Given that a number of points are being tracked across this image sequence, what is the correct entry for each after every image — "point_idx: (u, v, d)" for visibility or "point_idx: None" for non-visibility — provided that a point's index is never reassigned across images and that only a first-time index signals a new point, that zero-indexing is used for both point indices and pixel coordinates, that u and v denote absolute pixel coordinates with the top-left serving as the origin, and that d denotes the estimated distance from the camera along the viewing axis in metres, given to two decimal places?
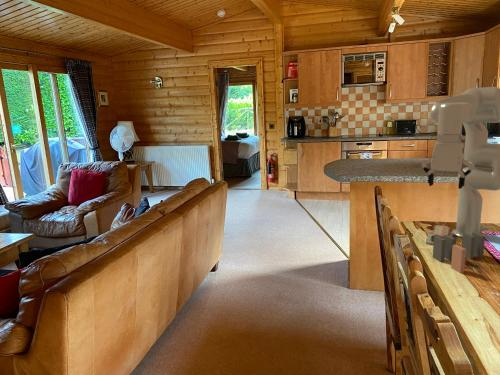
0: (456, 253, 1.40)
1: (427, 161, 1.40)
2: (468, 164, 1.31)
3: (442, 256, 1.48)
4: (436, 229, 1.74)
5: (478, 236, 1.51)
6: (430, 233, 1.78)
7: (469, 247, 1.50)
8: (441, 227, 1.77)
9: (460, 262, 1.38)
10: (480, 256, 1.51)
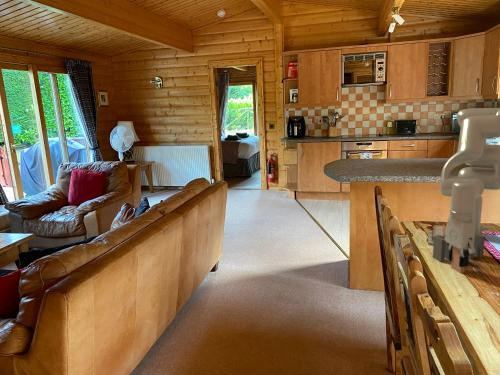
0: (456, 253, 1.40)
1: None
2: None
3: (442, 256, 1.48)
4: (436, 229, 1.74)
5: (478, 236, 1.51)
6: (430, 233, 1.78)
7: None
8: (440, 227, 1.76)
9: None
10: (480, 256, 1.51)
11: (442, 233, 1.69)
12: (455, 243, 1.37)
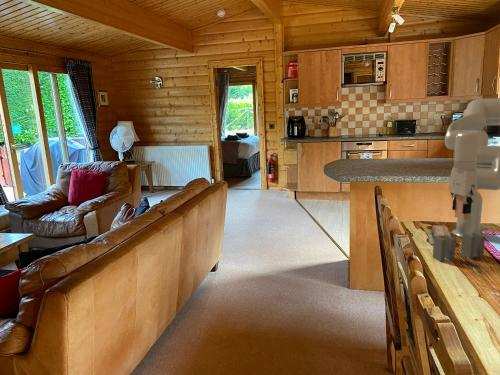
0: (459, 201, 1.48)
1: None
2: None
3: (442, 256, 1.48)
4: (437, 229, 1.73)
5: (478, 236, 1.51)
6: (429, 234, 1.78)
7: (469, 247, 1.50)
8: (440, 227, 1.76)
9: None
10: (480, 256, 1.51)
11: (443, 233, 1.68)
12: (458, 191, 1.45)
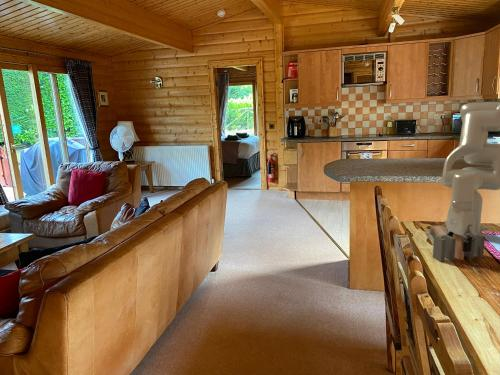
0: (456, 241, 1.51)
1: None
2: None
3: (442, 256, 1.48)
4: (437, 230, 1.73)
5: (478, 236, 1.51)
6: (429, 234, 1.77)
7: None
8: (439, 227, 1.76)
9: (460, 250, 1.50)
10: (480, 256, 1.51)
11: (445, 233, 1.68)
12: (456, 230, 1.48)
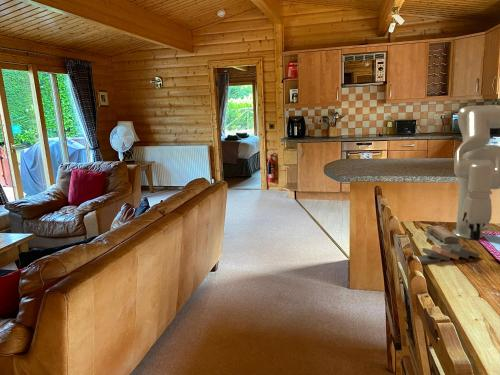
0: None
1: (467, 220, 1.49)
2: None
3: (435, 262, 1.48)
4: (438, 230, 1.72)
5: (457, 250, 1.51)
6: (429, 235, 1.76)
7: (457, 255, 1.50)
8: (438, 227, 1.76)
9: (449, 256, 1.49)
10: (476, 256, 1.51)
11: (448, 233, 1.68)
12: None
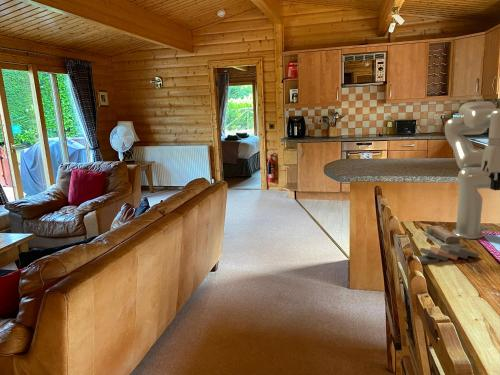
0: None
1: (488, 169, 1.46)
2: None
3: (433, 262, 1.48)
4: (438, 230, 1.72)
5: (457, 251, 1.51)
6: (429, 235, 1.76)
7: (456, 255, 1.50)
8: (437, 227, 1.76)
9: None
10: (476, 256, 1.51)
11: (449, 233, 1.68)
12: None
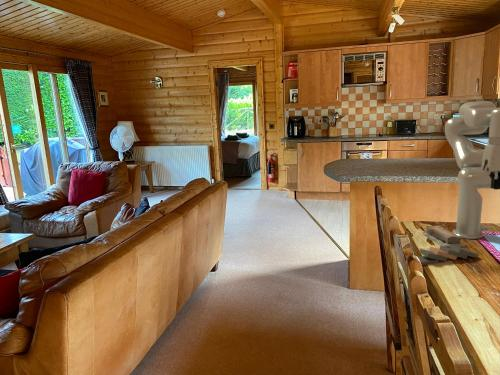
0: None
1: (488, 168, 1.46)
2: None
3: (433, 262, 1.47)
4: (439, 230, 1.72)
5: (457, 251, 1.51)
6: (429, 235, 1.75)
7: (455, 255, 1.50)
8: (437, 227, 1.76)
9: None
10: (476, 256, 1.51)
11: (449, 233, 1.68)
12: None
